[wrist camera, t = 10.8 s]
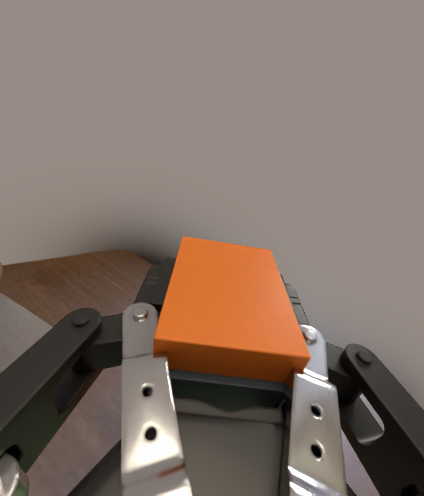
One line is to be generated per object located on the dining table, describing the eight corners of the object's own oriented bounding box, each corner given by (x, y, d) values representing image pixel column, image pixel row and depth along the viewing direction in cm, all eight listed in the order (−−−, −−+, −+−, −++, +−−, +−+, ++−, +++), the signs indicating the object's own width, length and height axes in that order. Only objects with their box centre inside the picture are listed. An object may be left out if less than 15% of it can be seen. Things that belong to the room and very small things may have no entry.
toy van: (166, 352, 17) (177, 235, 12) (237, 361, 18) (276, 250, 13) (139, 474, 12) (139, 345, 6) (246, 483, 12) (325, 369, 7)
